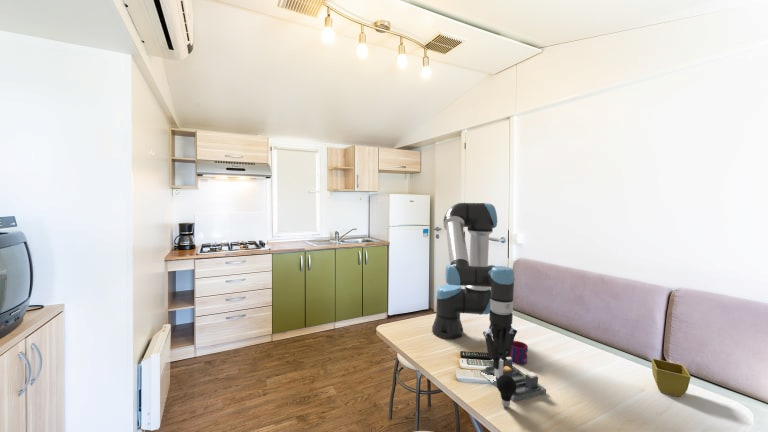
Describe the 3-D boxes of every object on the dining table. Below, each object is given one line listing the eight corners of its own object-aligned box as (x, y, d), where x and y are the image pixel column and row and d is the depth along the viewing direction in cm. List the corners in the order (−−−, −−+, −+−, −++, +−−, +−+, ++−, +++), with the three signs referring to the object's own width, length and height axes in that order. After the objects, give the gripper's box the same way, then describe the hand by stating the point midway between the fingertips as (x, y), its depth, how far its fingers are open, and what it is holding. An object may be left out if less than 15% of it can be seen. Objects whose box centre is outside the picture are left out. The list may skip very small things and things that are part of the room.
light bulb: (492, 401, 100) (493, 371, 100) (509, 400, 101) (511, 370, 100) (500, 413, 95) (502, 381, 94) (519, 412, 95) (520, 381, 95)
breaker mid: (500, 378, 110) (500, 366, 110) (506, 377, 111) (507, 365, 111) (504, 382, 108) (505, 370, 108) (511, 381, 109) (512, 368, 109)
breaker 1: (501, 367, 118) (501, 356, 118) (507, 366, 119) (508, 355, 119) (505, 370, 116) (506, 359, 115) (512, 369, 117) (512, 358, 116)
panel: (480, 373, 116) (480, 367, 116) (510, 367, 121) (510, 362, 121) (513, 401, 100) (513, 394, 100) (546, 393, 105) (546, 387, 105)
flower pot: (689, 403, 102) (691, 376, 101) (654, 393, 106) (656, 368, 106) (681, 389, 109) (683, 365, 109) (649, 381, 114) (651, 357, 113)
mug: (523, 366, 122) (524, 350, 122) (498, 357, 129) (499, 342, 129) (529, 360, 127) (530, 344, 127) (505, 352, 134) (505, 337, 133)
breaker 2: (525, 385, 107) (525, 373, 106) (532, 383, 108) (532, 371, 107) (530, 389, 104) (531, 376, 104) (537, 387, 105) (538, 375, 105)
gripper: (492, 317, 102) (490, 386, 103) (523, 313, 106) (521, 379, 107) (478, 309, 109) (476, 374, 110) (508, 306, 113) (505, 368, 114)
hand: (498, 376), depth 109 cm, fingers closed
